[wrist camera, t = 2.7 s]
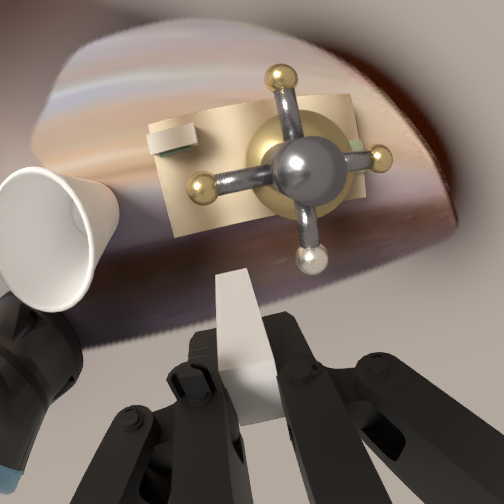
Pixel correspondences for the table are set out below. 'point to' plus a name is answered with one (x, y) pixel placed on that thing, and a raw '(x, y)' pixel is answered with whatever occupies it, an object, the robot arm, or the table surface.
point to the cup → (53, 235)
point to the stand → (230, 157)
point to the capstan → (294, 168)
